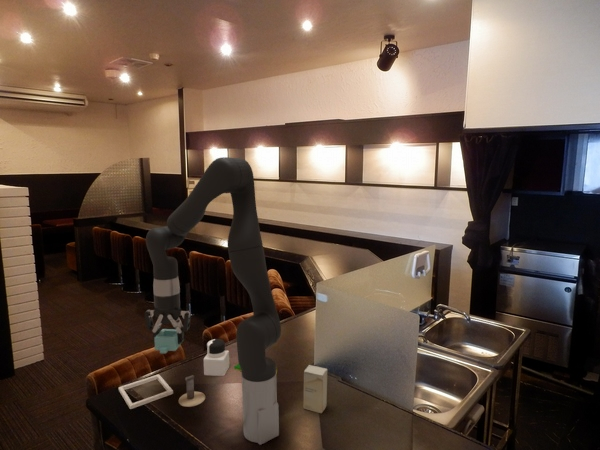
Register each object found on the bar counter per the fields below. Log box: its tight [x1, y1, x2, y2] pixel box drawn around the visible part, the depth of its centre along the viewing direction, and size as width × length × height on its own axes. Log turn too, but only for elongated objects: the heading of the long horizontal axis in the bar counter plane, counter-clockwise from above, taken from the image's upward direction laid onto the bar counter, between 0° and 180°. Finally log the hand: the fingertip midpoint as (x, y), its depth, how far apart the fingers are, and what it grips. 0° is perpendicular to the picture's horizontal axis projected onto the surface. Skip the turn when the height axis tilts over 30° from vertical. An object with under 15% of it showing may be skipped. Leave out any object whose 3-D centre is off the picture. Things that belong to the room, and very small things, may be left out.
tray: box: [118, 374, 174, 410], centre depth 126 cm, size 13×13×2 cm
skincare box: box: [302, 364, 328, 414], centre depth 118 cm, size 6×4×12 cm
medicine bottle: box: [202, 338, 230, 377], centre depth 139 cm, size 7×7×12 cm
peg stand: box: [178, 374, 206, 408], centre depth 122 cm, size 8×8×8 cm
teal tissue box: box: [153, 328, 182, 354], centre depth 122 cm, size 8×6×4 cm
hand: (169, 342), depth 123 cm, fingers closed on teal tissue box, 6 cm apart
